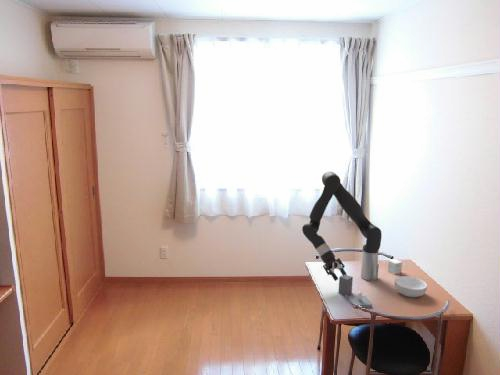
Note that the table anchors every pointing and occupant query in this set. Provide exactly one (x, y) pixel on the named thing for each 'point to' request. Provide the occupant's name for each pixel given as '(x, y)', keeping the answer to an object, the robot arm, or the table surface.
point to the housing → (345, 284)
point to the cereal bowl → (410, 286)
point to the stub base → (362, 303)
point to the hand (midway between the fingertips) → (341, 277)
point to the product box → (394, 266)
